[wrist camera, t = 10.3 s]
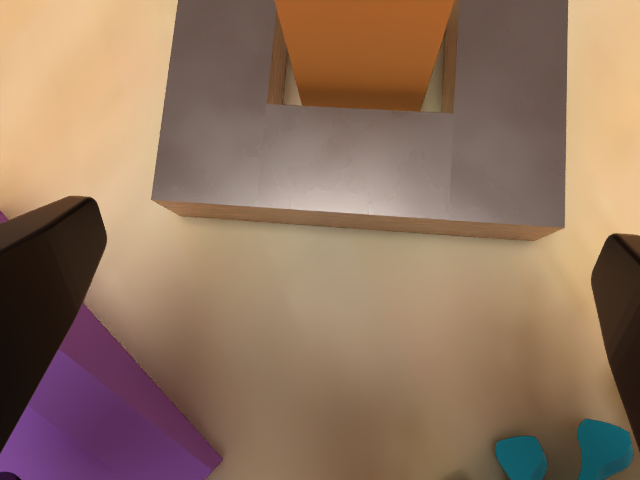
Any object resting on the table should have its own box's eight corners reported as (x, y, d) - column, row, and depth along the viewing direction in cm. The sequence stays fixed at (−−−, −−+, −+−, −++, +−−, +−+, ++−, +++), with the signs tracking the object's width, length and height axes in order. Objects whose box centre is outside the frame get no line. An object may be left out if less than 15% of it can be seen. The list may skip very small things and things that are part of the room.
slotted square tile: (533, 240, 16) (564, 227, 14) (180, 215, 17) (151, 199, 15) (541, -86, 18) (569, -148, 16) (218, -90, 19) (198, -150, 17)
